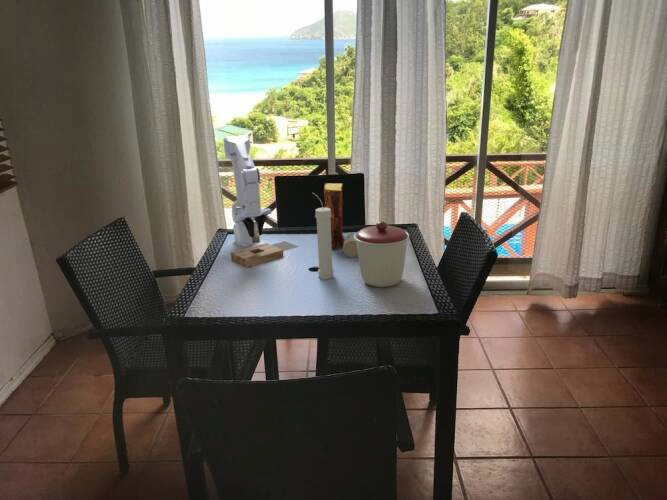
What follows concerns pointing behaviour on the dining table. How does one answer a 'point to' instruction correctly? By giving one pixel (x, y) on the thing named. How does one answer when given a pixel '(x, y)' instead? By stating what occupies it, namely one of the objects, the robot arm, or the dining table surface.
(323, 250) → the white tall cylinder
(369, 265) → the canister
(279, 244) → the mat
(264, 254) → the block
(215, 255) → the dining table surface
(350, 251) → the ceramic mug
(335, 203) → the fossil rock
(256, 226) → the peg
